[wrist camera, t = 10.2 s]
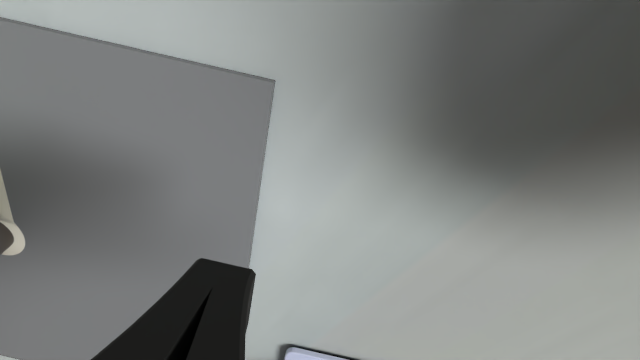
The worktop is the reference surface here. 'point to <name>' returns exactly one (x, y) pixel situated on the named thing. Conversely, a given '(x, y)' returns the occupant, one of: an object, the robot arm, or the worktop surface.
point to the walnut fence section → (5, 238)
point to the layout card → (115, 183)
